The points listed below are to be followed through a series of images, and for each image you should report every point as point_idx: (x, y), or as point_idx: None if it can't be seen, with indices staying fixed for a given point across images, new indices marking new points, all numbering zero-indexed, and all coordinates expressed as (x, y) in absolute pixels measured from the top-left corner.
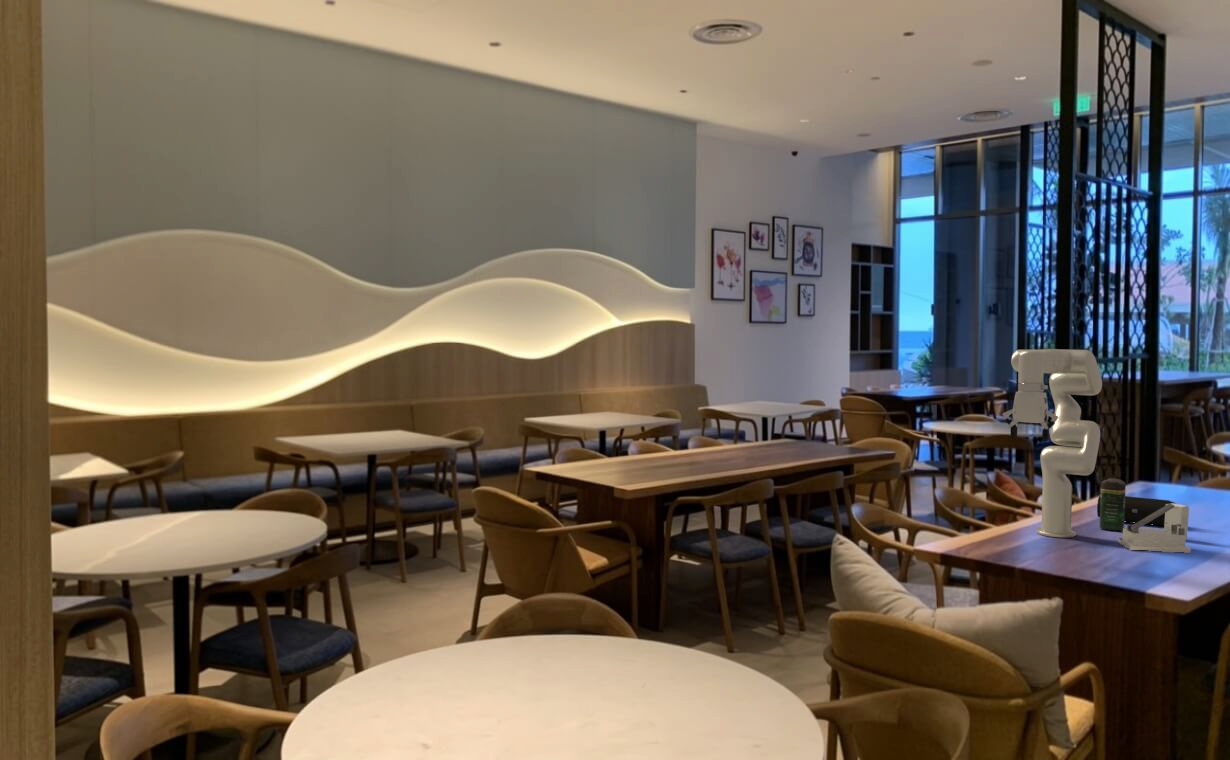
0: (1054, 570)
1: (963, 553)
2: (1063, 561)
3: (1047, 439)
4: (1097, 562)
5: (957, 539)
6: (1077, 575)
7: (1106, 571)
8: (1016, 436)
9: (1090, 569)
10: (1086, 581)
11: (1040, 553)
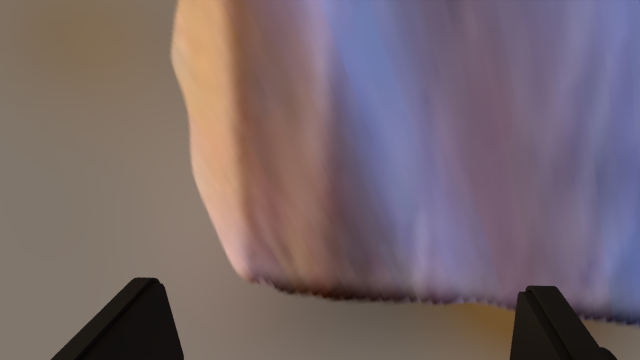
0: (494, 273)
1: (282, 254)
2: (489, 176)
3: (558, 293)
4: (571, 123)
5: (193, 126)
6: (548, 284)
7: (606, 206)
8: (155, 313)
9: (566, 212)
10: None
11: (414, 129)
